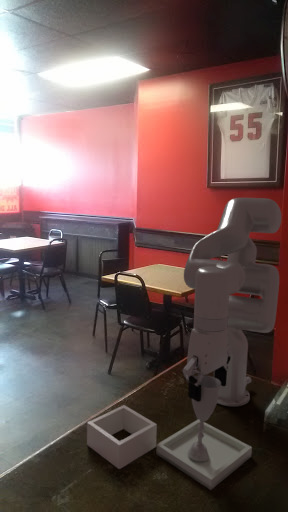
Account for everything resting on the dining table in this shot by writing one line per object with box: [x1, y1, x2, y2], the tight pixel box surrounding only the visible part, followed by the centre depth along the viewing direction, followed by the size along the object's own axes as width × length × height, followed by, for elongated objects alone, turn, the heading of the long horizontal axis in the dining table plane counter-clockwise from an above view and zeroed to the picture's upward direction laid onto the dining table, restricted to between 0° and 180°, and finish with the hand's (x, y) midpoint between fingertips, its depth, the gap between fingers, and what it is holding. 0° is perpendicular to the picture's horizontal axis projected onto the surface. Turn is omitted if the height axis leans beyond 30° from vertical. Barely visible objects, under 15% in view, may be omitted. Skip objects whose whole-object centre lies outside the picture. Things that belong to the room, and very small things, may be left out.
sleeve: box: [86, 404, 158, 470], centre depth 100 cm, size 12×12×6 cm
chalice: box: [188, 374, 221, 461], centre depth 95 cm, size 7×7×18 cm
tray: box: [155, 419, 253, 491], centre depth 97 cm, size 16×16×2 cm
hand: (207, 391), depth 95 cm, fingers open, 9 cm apart
